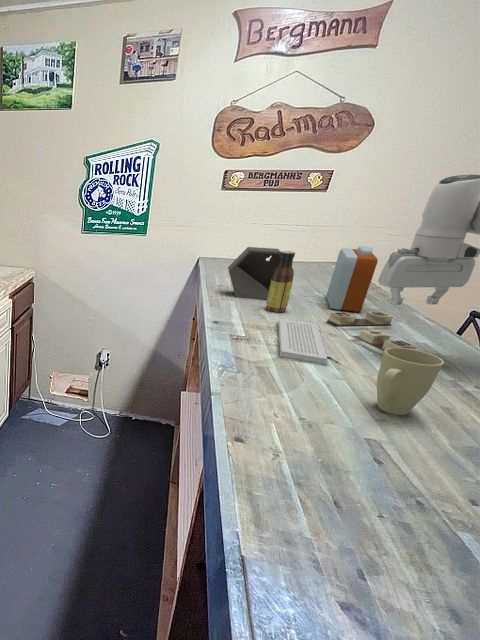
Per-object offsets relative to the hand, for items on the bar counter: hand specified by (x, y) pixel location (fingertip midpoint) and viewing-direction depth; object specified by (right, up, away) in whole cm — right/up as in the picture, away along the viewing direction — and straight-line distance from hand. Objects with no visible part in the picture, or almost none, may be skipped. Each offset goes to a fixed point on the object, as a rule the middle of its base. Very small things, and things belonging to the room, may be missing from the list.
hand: (413, 304), depth 114 cm
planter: (-8, +10, +59) cm, 61 cm away
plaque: (-18, -9, +15) cm, 26 cm away
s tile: (+1, -12, +6) cm, 13 cm away
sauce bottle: (-9, +3, +43) cm, 44 cm away
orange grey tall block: (+19, +5, +49) cm, 52 cm away
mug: (-23, -25, -21) cm, 40 cm away
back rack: (+9, -3, +29) cm, 30 cm away
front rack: (+1, -11, +10) cm, 15 cm away
